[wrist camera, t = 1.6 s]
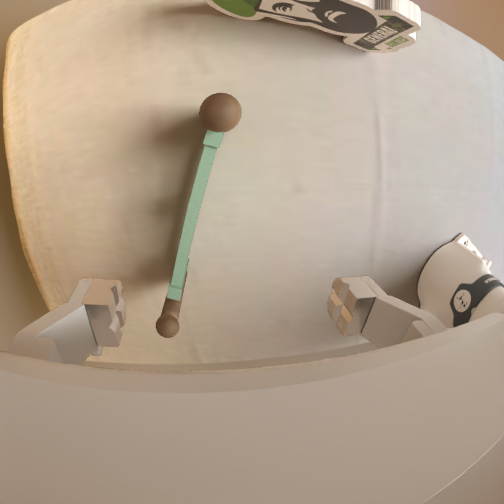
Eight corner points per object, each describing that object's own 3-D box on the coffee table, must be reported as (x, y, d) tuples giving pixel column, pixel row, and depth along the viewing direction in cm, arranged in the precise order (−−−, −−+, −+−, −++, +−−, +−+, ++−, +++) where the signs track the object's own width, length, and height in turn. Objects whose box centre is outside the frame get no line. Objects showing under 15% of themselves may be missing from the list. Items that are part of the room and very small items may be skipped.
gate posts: (238, 110, 31) (248, 96, 18) (189, 282, 40) (179, 348, 28) (212, 103, 30) (205, 85, 18) (167, 277, 39) (148, 341, 27)
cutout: (443, 24, 15) (205, -65, 10) (444, 42, 16) (198, -47, 11) (372, 43, 29) (201, -2, 23) (371, 57, 30) (197, 14, 24)
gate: (223, 132, 31) (224, 132, 24) (186, 268, 38) (179, 301, 31) (211, 129, 31) (207, 127, 23) (175, 265, 38) (166, 297, 30)
